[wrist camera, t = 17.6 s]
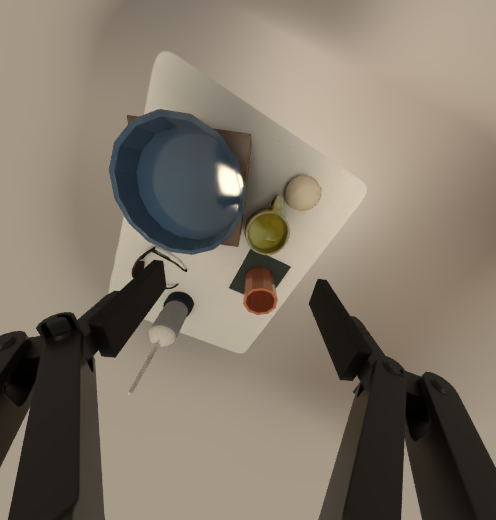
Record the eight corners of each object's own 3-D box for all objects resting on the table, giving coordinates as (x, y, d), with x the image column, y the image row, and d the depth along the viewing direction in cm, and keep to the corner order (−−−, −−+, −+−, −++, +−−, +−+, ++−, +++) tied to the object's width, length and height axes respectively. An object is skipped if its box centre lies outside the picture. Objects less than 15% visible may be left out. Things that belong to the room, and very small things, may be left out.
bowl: (252, 133, 26) (253, 123, 21) (239, 247, 34) (237, 260, 29) (124, 112, 25) (94, 98, 20) (142, 235, 33) (123, 246, 28)
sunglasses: (149, 240, 45) (141, 249, 41) (192, 261, 50) (188, 272, 45) (135, 268, 49) (126, 279, 45) (176, 286, 53) (171, 298, 49)
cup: (275, 267, 48) (280, 290, 39) (269, 291, 51) (273, 316, 42) (247, 264, 47) (246, 285, 38) (243, 288, 51) (241, 313, 42)
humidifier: (164, 307, 55) (104, 398, 33) (171, 287, 52) (109, 374, 30) (189, 315, 57) (148, 408, 34) (197, 297, 53) (157, 387, 31)
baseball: (306, 212, 41) (316, 219, 35) (278, 201, 40) (283, 206, 34) (321, 183, 39) (334, 185, 33) (291, 170, 38) (299, 169, 32)
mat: (251, 247, 46) (251, 248, 45) (290, 266, 48) (290, 267, 48) (229, 287, 51) (229, 288, 51) (265, 302, 54) (265, 303, 53)
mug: (274, 258, 45) (272, 264, 35) (241, 237, 46) (230, 237, 36) (302, 216, 42) (309, 210, 33) (267, 195, 43) (262, 182, 34)
